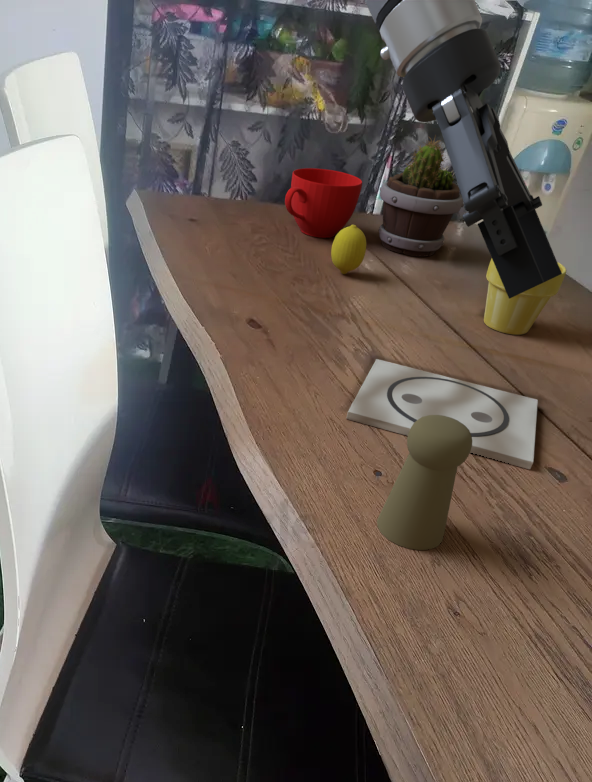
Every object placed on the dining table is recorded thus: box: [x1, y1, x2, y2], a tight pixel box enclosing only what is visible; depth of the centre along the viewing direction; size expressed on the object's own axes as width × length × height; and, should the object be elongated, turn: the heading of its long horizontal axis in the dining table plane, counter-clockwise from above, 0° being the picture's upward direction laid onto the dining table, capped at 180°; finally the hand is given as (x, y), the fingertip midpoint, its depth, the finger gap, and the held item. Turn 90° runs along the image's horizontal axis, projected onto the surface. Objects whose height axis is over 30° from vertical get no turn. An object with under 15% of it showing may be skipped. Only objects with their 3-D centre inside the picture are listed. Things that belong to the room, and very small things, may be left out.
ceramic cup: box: [284, 167, 363, 239], centre depth 137 cm, size 13×17×10 cm
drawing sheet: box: [346, 358, 539, 470], centre depth 85 cm, size 20×16×1 cm
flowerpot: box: [378, 134, 464, 257], centre depth 133 cm, size 14×15×20 cm
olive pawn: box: [376, 415, 472, 551], centre depth 63 cm, size 6×6×11 cm
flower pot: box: [483, 257, 567, 336], centre depth 108 cm, size 10×10×10 cm
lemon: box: [330, 224, 367, 275], centre depth 120 cm, size 6×6×8 cm
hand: (537, 285), depth 65 cm, fingers open, 13 cm apart
